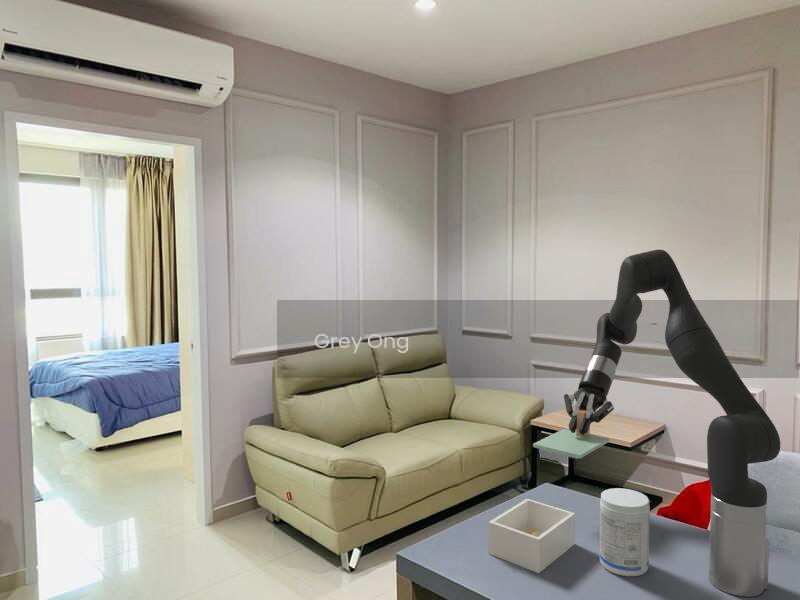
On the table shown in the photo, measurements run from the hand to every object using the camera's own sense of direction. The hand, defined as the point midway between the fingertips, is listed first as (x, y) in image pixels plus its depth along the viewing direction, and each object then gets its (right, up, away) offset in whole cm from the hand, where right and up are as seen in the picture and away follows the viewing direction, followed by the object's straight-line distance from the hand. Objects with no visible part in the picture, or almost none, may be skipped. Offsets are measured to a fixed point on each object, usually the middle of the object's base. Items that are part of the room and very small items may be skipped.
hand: (576, 432), depth 150 cm
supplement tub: (+1, -21, -28) cm, 35 cm away
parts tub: (-16, -21, -21) cm, 33 cm away
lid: (-2, -3, -2) cm, 4 cm away
